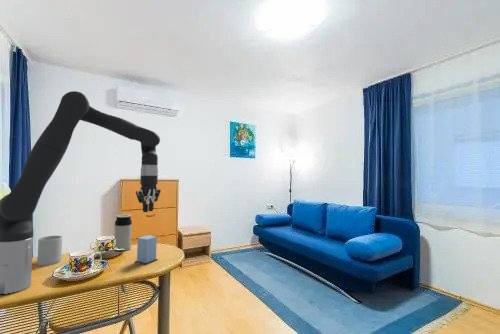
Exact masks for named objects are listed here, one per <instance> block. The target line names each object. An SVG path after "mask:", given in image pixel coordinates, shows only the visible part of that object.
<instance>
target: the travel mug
mask: <svg viewBox="0 0 500 334" xmlns="http://www.w3.org/2000/svg"><path fill="white" fill-rule="evenodd" d="M115 217H116V220H115V221H114V238H115V239H116V247H119V248H124V249H125V250H126V251H128V250H130V249H131V248H132V227H133V226H132V221H133V220H132V219H131V217H132V214H129V213H128V214H127V213H126V214H125V213H124V214H117V215H115Z"/></svg>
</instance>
